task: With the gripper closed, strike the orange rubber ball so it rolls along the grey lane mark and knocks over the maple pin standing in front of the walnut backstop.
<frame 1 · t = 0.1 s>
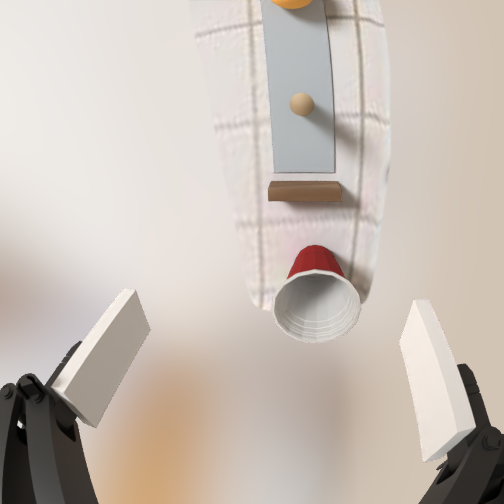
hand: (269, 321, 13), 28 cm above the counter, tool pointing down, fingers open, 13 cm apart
lane mark: (299, 68, 29), on the counter
plastic cup: (314, 259, 43), on the counter
pin: (301, 105, 32), on the counter
backstop: (304, 186, 37), on the counter
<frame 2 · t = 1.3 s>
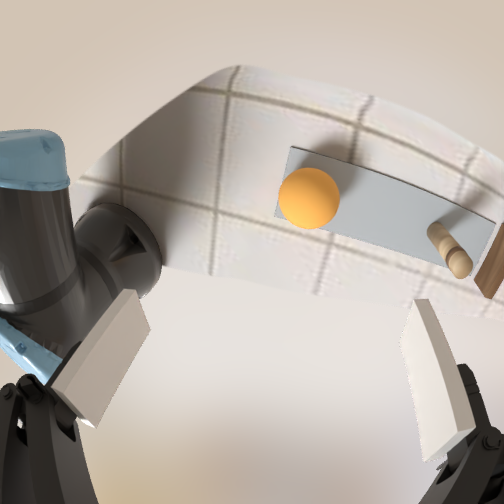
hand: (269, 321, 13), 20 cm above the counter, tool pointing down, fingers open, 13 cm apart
lane mark: (400, 218, 29), on the counter
pin: (434, 230, 28), on the counter
ball: (309, 198, 27), on the counter
backstop: (491, 254, 27), on the counter
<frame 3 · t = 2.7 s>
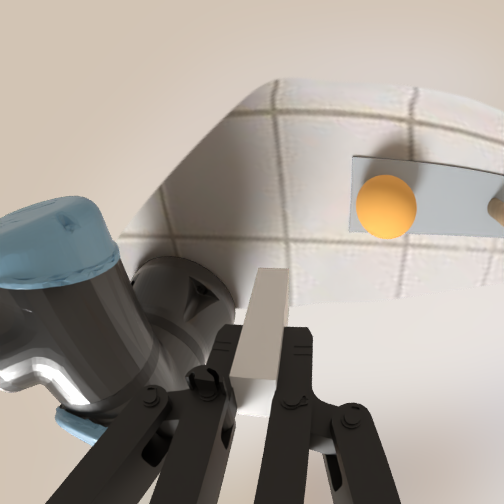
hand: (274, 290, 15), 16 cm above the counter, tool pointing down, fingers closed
lane mark: (463, 203, 25), on the counter
pin: (493, 206, 24), on the counter
ball: (386, 206, 24), on the counter
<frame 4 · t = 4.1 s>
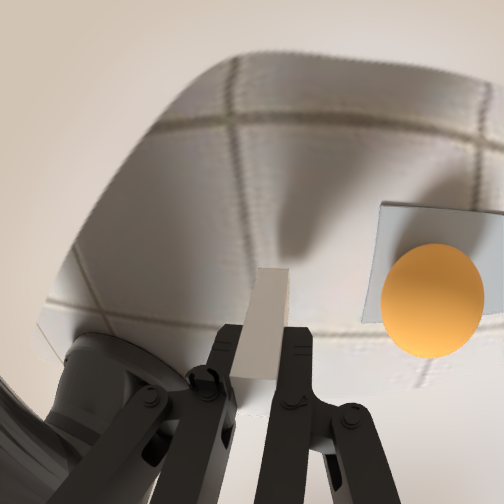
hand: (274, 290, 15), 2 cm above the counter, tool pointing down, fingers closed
ball: (433, 301, 12), on the counter
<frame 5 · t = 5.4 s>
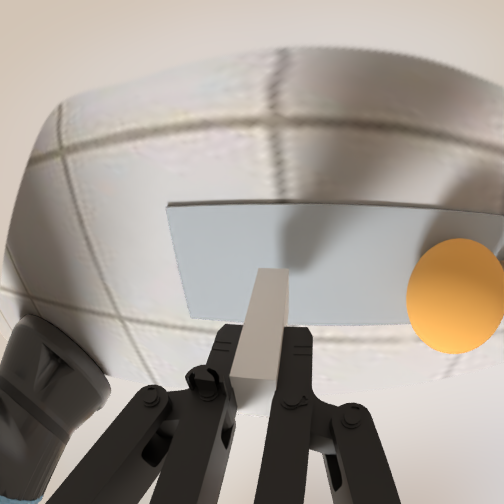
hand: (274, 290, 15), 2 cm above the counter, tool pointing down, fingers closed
lane mark: (411, 272, 15), on the counter
ball: (457, 296, 12), on the counter
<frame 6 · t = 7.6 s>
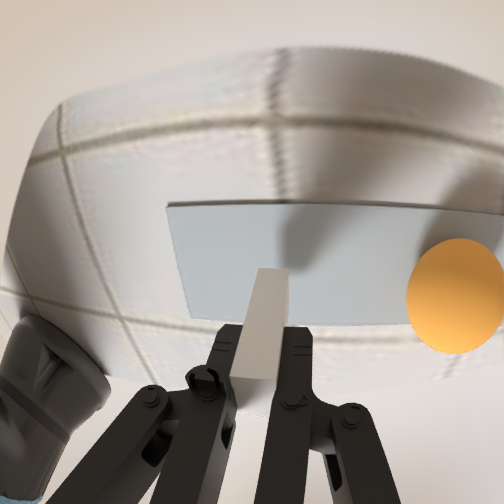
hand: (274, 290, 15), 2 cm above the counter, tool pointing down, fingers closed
lane mark: (411, 272, 15), on the counter
ball: (457, 296, 12), on the counter
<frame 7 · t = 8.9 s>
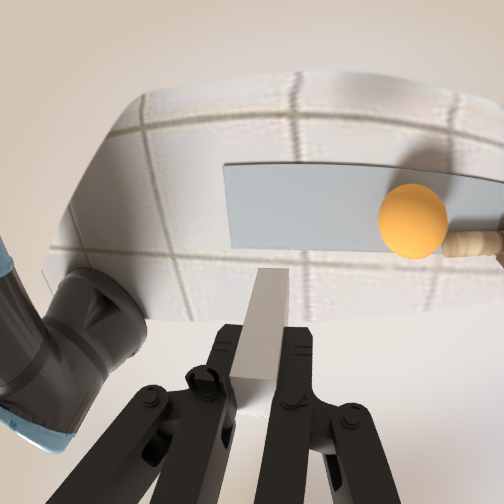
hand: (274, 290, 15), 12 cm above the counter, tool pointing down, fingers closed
lane mark: (383, 211, 23), on the counter
pin: (445, 244, 22), point 1 cm above the counter, tilted 90°, touching backstop
ball: (413, 221, 20), on the counter
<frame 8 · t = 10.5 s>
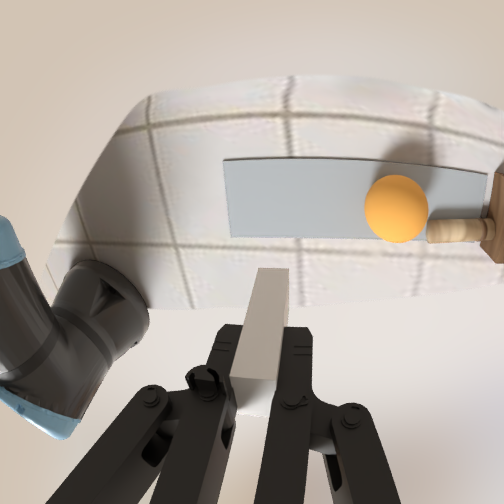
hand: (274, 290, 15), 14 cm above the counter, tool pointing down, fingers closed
lane mark: (369, 201, 25), on the counter
pin: (429, 231, 24), point 1 cm above the counter, tilted 90°, touching backstop
ball: (396, 208, 22), on the counter
backstop: (492, 210, 23), on the counter
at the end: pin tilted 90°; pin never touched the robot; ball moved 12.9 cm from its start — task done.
